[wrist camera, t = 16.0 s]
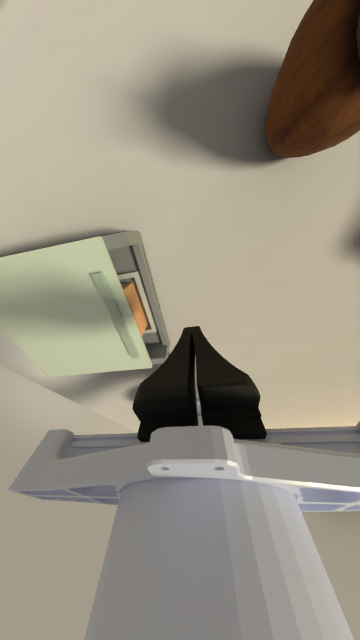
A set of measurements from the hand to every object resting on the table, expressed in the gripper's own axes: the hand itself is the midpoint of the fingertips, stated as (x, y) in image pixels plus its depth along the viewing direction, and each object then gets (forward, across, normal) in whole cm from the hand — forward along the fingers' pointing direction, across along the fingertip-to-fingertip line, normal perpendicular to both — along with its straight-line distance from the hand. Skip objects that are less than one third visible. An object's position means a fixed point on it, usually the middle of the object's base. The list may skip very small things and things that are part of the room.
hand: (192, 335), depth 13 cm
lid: (+5, +17, 0) cm, 17 cm away
